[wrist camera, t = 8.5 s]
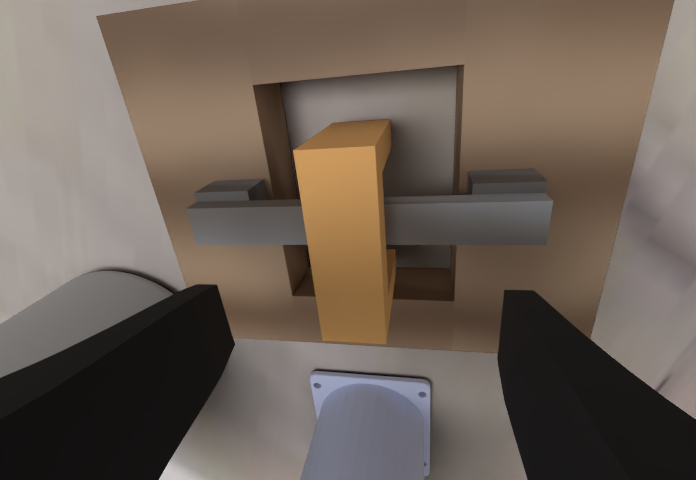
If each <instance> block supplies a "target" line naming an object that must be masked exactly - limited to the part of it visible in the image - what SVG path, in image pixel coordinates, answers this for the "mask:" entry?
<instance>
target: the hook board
mask: <svg viewBox="0 0 696 480" xmlns="http://www.w3.org/2000/svg"><path fill="white" fill-rule="evenodd" d="M673 4H674V0H198V1H191V2H185V3H178V4H172V5H165V6H159V7H152V8H146V9H139V10H133V11H126V12H120V13H113V14H107V15H100V16H96V17H97V20H98V23H99V26H100V29H101V32H102V35H103V38H104V41H105V44H106V47H107V50H108V53H109V56H110V59H111V62H112V65H113V68H114V71H115V74H116V77H117V80H118V83H119V86H120V89H121V92H122V95H123V98H124V101H125V104H126V107H127V110H128V113H129V116H130V119H131V122H132V125H133V128H134V131H135V134H136V137H137V140H138V143H139V146H140V149H141V152H142V155H143V158H144V161H145V164H146V167H147V170H148V173H149V176H150V179H151V182H152V185H153V188H154V191H155V194H156V197H157V200H158V203H159V206H160V209H161V212H162V215H163V218H164V221H165V224H166V227H167V230H168V233H169V236H170V239H171V242H172V245H173V248H174V251H175V254H176V257H177V260H178V263H179V266H180V269H181V272H182V275H183V278H184V281H185V284H186V287H187V288H188V287H191V286H193V285H196V284H217V286H218V289H219V293H220V296H221V299H222V303H223V306H224V309H225V313H226V316H227V319H228V323H229V326H230V330H231V333H232V336H233V338H248V339H264V340H281V341H298V342H315V343H332V344H348V345H365V346H382V347H399V348H415V349H432V350H449V351H466V352H483V353H498V348H499V338H500V328H501V318H502V308H503V298H504V290H534V291H535V292H536V293H538V294H539V295H540V296H541V297H542V298H543V299H544V300H546V301H547V302H548V303H549V304H550V305H551V306H552V307H553V308H555V309H556V310H557V311H558V312H559V313H560V314H561V315H563V316H564V317H565V318H566V319H567V320H568V321H569V322H571V323H572V324H573V325H574V326H575V327H576V328H577V329H579V330H580V331H581V332H582V333H583V334H584V335H586V336H587V337H588V338H589V339H590V337H591V333H592V329H593V325H594V321H595V317H596V313H597V309H598V305H599V301H600V297H601V293H602V289H603V285H604V281H605V277H606V273H607V269H608V265H609V261H610V257H611V253H612V249H613V245H614V241H615V237H616V233H617V229H618V225H619V221H620V217H621V213H622V209H623V205H624V201H625V197H626V193H627V189H628V185H629V181H630V177H631V173H632V169H633V165H634V161H635V157H636V153H637V149H638V145H639V141H640V137H641V133H642V129H643V125H644V121H645V116H646V112H647V108H648V104H649V100H650V96H651V92H652V88H653V84H654V80H655V76H656V72H657V68H658V64H659V60H660V56H661V52H662V48H663V44H664V40H665V36H666V32H667V28H668V24H669V20H670V16H671V12H672V8H673ZM454 65H457V86H456V115H455V145H454V174H453V195H443V196H405V197H384V216H385V235H386V245H451V261H450V269H429V268H396V276H395V283H394V291H393V298H392V306H391V314H390V321H389V329H388V336H387V344H370V343H353V342H336V341H322V334H321V328H320V321H319V315H318V308H317V302H316V295H315V289H314V282H313V276H312V269H311V267H309V265H308V259H307V253H306V246H305V245H308V244H307V237H306V231H305V224H304V218H303V211H302V205H301V199H298V196H297V190H296V183H295V177H294V171H293V164H292V158H291V152H290V146H289V139H288V133H287V127H286V120H285V114H284V108H283V101H282V95H281V89H280V82H289V81H299V80H309V79H320V78H330V77H340V76H351V75H361V74H371V73H381V72H392V71H402V70H412V69H423V68H433V67H443V66H454Z"/></svg>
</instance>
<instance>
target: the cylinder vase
mask: <svg viewBox="0 0 696 480" xmlns="http://www.w3.org/2000/svg"><path fill="white" fill-rule="evenodd" d="M171 295H173V293H171V292H170V291H168V290H167V289H165V288H163V287H162V286H160V285H158V284H156V283H154V282H152V281H150V280H147V279H145V278H142V277H139V276H136V275H133V274H129V273H124V272H117V271H97V272H91V273H87V274H83V275H81V276H78V277H76V278H74V279H72V280H71V281H69V282H67V283H66V284H64V285H63V286H61V287H59V288H58V289H56V290H55V291H53V292H51V293H50V294H48V295H47V296H45V297H43V298H42V299H40V300H39V301H37V302H35V303H34V304H32V305H30V306H29V307H27V308H26V309H24V310H22V311H21V312H19V313H18V314H16V315H14V316H13V317H11V318H10V319H8V320H6V321H5V322H3V323H2V324H0V378H1V377H3V376H6V375H8V374H10V373H13V372H15V371H17V370H20V369H22V368H25V367H27V366H29V365H32V364H34V363H36V362H38V361H41V360H43V359H45V358H47V357H50V356H52V355H54V354H56V353H58V352H60V351H63V350H65V349H67V348H69V347H71V346H73V345H75V344H77V343H79V342H81V341H83V340H85V339H87V338H89V337H91V336H93V335H95V334H97V333H99V332H101V331H103V330H105V329H107V328H109V327H111V326H113V325H115V324H117V323H119V322H121V321H123V320H125V319H127V318H129V317H130V316H132V315H134V314H136V313H138V312H140V311H142V310H144V309H146V308H148V307H150V306H152V305H154V304H155V303H157V302H159V301H161V300H163V299H165V298H167V297H169V296H171Z"/></svg>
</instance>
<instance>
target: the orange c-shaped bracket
mask: <svg viewBox="0 0 696 480" xmlns="http://www.w3.org/2000/svg"><path fill="white" fill-rule="evenodd" d="M391 148H392V145H391V119H383V120H368V121H354V122H339V123H332V124H331V125H329V126H328V127H327V128H325V129H324V130H322V131H321V132H319V133H318V134H316V135H315V136H313V137H312V138H311V139H309V140H308V141H306V142H305V143H303V144H302V145H300V146H299V147H297V148H296V149H294V150H293V153H294V159H295V166H296V172H297V179H298V185H299V192H300V198H301V205H302V211H303V218H304V224H305V231H306V237H307V244H308V250H309V257H310V263H311V269H312V276H313V282H314V289H315V295H316V302H317V308H318V315H319V321H320V328H321V334H322V341H336V342H353V343H370V344H387V336H388V329H389V321H390V314H391V306H392V298H393V291H394V283H395V276H396V250H395V249H386V235H385V216H384V196H383V176H382V172H383V169H384V167H385V164H386V161H387V159H388V156H389V153H390V150H391Z"/></svg>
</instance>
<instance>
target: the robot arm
mask: <svg viewBox="0 0 696 480" xmlns="http://www.w3.org/2000/svg"><path fill="white" fill-rule="evenodd" d="M234 345H235V343H234V340H233V336H232V333H231V330H230V326H229V323H228V319H227V316H226V313H225V309H224V306H223V303H222V299H221V296H220V293H219V289H218V286H217V284H196V285H193V286H191V287H188V288H186V289H184V290H182V291H180V292H177V293H175V294H173V295H171V296H169V297H167V298H165V299H163V300H161V301H159V302H157V303H155V304H154V305H152V306H150V307H148V308H146V309H144V310H142V311H140V312H138V313H136V314H134V315H132V316H130V317H129V318H127V319H125V320H123V321H121V322H119V323H117V324H115V325H113V326H111V327H109V328H107V329H105V330H103V331H101V332H99V333H97V334H95V335H93V336H91V337H89V338H87V339H85V340H83V341H81V342H79V343H77V344H75V345H73V346H71V347H69V348H67V349H65V350H63V351H60V352H58V353H56V354H54V355H52V356H50V357H47V358H45V359H43V360H41V361H38V362H36V363H34V364H32V365H29V366H27V367H25V368H22V369H20V370H17V371H15V372H13V373H10V374H8V375H6V376H3V377H1V378H0V480H159V478H160V476H161V474H162V473H163V471H164V469H165V467H166V466H167V464H168V462H169V460H170V459H171V457H172V456H173V454H174V452H175V451H176V449H177V448H178V446H179V444H180V443H181V441H182V440H183V438H184V436H185V435H186V433H187V431H188V430H189V428H190V427H191V425H192V423H193V422H194V420H195V419H196V417H197V415H198V414H199V412H200V411H201V409H202V407H203V406H204V404H205V402H206V401H207V399H208V397H209V396H210V394H211V392H212V391H213V389H214V388H215V386H216V384H217V382H218V381H219V379H220V377H221V375H222V373H223V371H224V368H225V366H226V364H227V362H228V360H229V357H230V355H231V352H232V350H233V348H234ZM497 359H498V366H499V372H500V378H501V384H502V389H503V395H504V401H505V404H506V408H507V411H508V415H509V418H510V422H511V425H512V428H513V432H514V435H515V439H516V442H517V445H518V449H519V452H520V455H521V459H522V462H523V465H524V469H525V472H526V476H527V479H528V480H696V419H694V418H693V417H691V416H690V415H688V414H687V413H686V412H684V411H683V410H681V409H680V408H678V407H677V406H676V405H674V404H673V403H671V402H670V401H669V400H667V399H666V398H664V397H663V396H662V395H660V394H659V393H658V392H656V391H655V390H654V389H652V388H651V387H650V386H649V385H647V384H646V383H645V382H643V381H642V380H641V379H639V378H638V377H637V376H635V375H634V374H633V373H631V372H630V371H629V370H627V369H626V368H625V367H624V366H622V365H621V364H620V363H618V362H617V361H616V360H615V359H613V358H612V357H611V356H610V355H608V354H607V353H606V352H605V351H604V350H602V349H601V348H600V347H599V346H598V345H596V344H595V343H594V342H593V341H592V340H590V339H589V338H588V337H587V336H586V335H584V334H583V333H582V332H581V331H580V330H579V329H577V328H576V327H575V326H574V325H573V324H572V323H571V322H569V321H568V320H567V319H566V318H565V317H564V316H563V315H561V314H560V313H559V312H558V311H557V310H556V309H555V308H553V307H552V306H551V305H550V304H549V303H548V302H547V301H546V300H544V299H543V298H542V297H541V296H540V295H539V294H538V293H536V292H535V291H534V290H504V298H503V308H502V318H501V328H500V338H499V348H498V358H497ZM317 383H319V384H317ZM310 384H311V390H312V395H313V400H314V406H315V411H316V417H317V424H316V428H315V431H314V435H313V438H312V441H311V445H310V448H309V451H308V455H307V458H306V462H305V465H304V468H303V472H302V475H301V479H300V480H424V477H426V476H428V475H429V474H430V383H429V382H428V381H427V380H424V379H415V378H402V377H389V376H376V375H363V374H350V373H337V372H324V371H314V372H312V373H311V375H310ZM421 392H425V393H421Z"/></svg>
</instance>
